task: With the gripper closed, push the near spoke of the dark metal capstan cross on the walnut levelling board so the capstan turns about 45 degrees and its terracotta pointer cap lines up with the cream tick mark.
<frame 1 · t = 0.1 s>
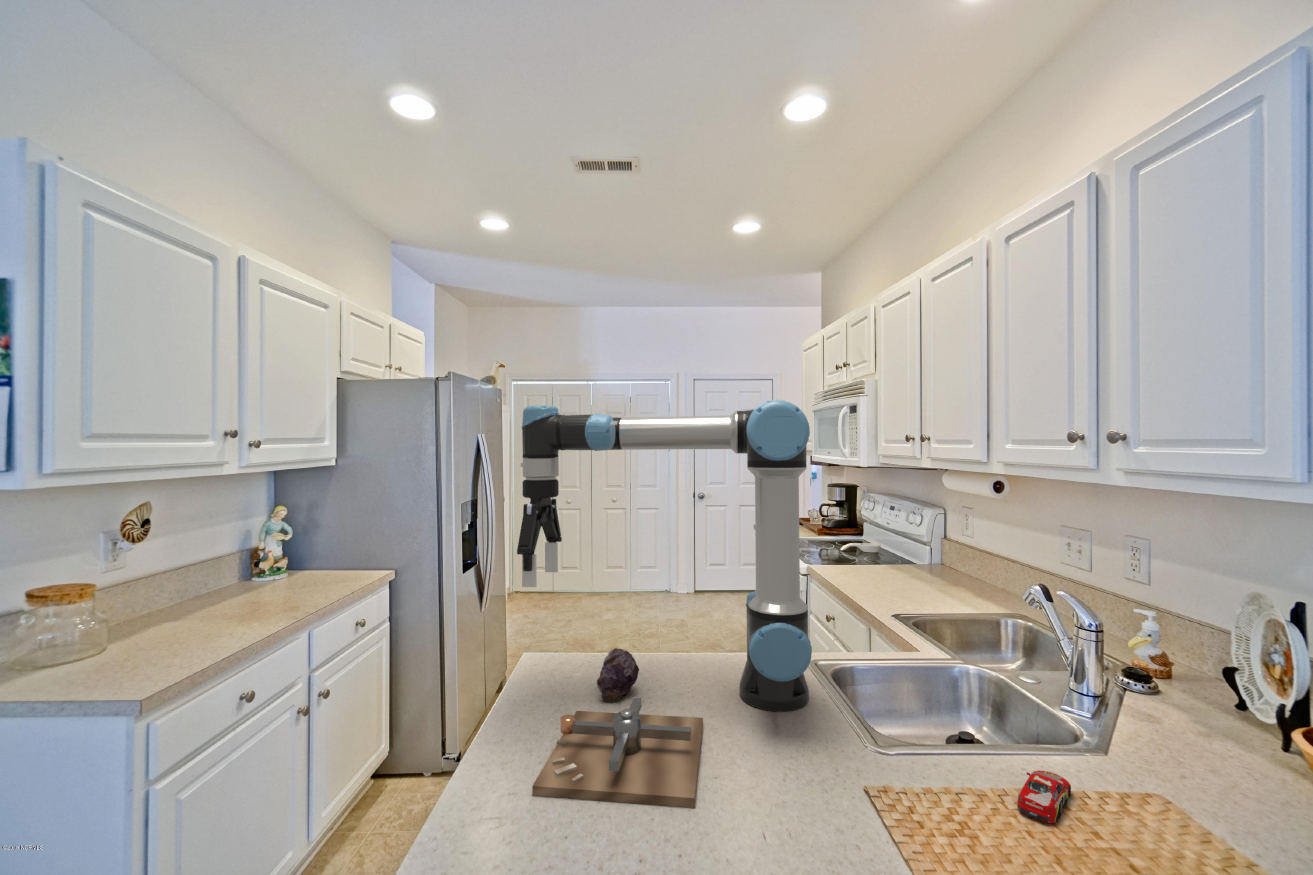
hand: (540, 579, 119), 28 cm above the countertop, fingers open, 13 cm apart
capstan: (624, 729, 102), point 5 cm above the countertop, hinge at 0.0°
rock: (617, 693, 128), on the countertop
race car: (1044, 804, 88), on the countertop
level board: (627, 756, 101), on the countertop
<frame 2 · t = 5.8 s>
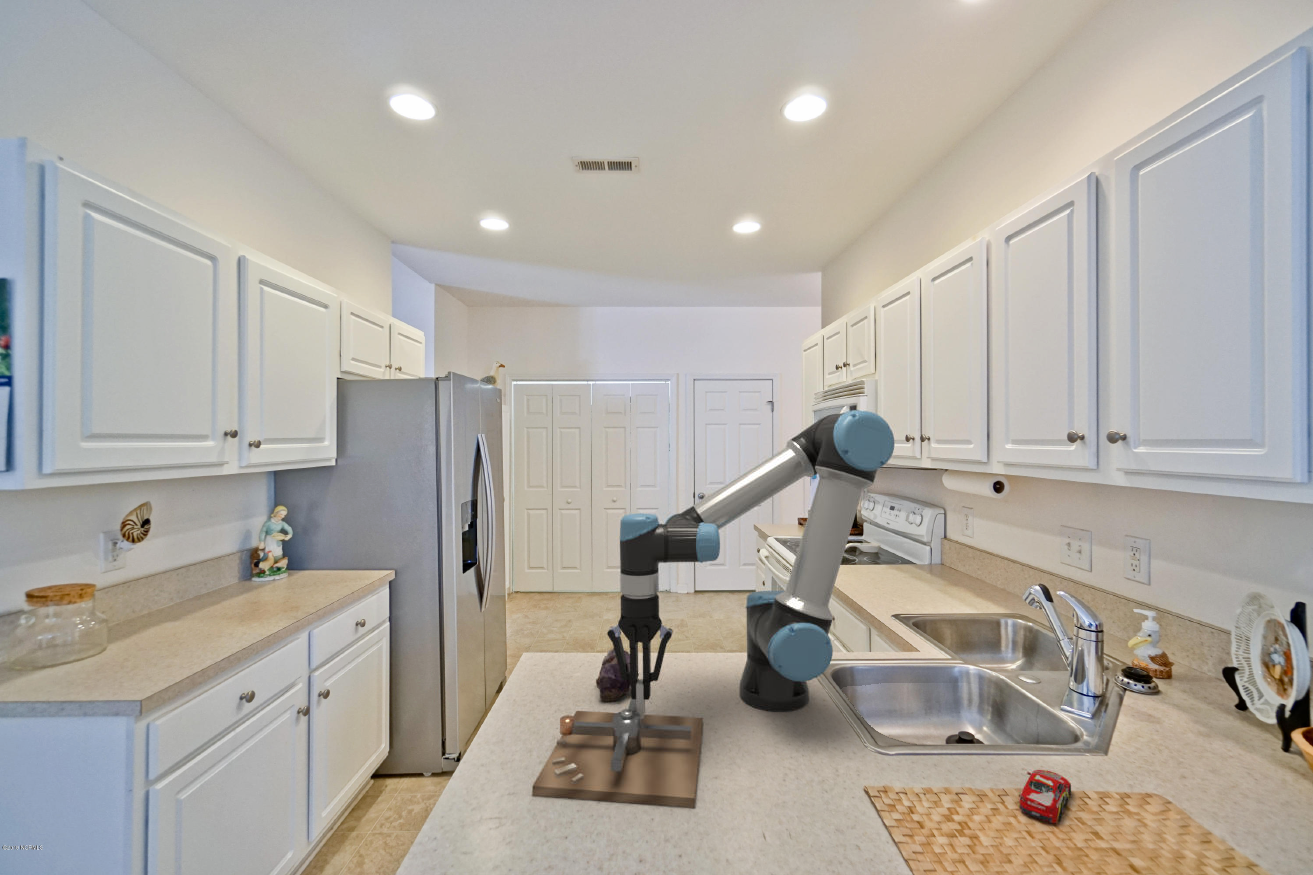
hand: (641, 715, 110), 3 cm above the countertop, fingers closed
capstan: (624, 729, 102), point 5 cm above the countertop, hinge at 1.8°, touching gripper
everything else where it was.
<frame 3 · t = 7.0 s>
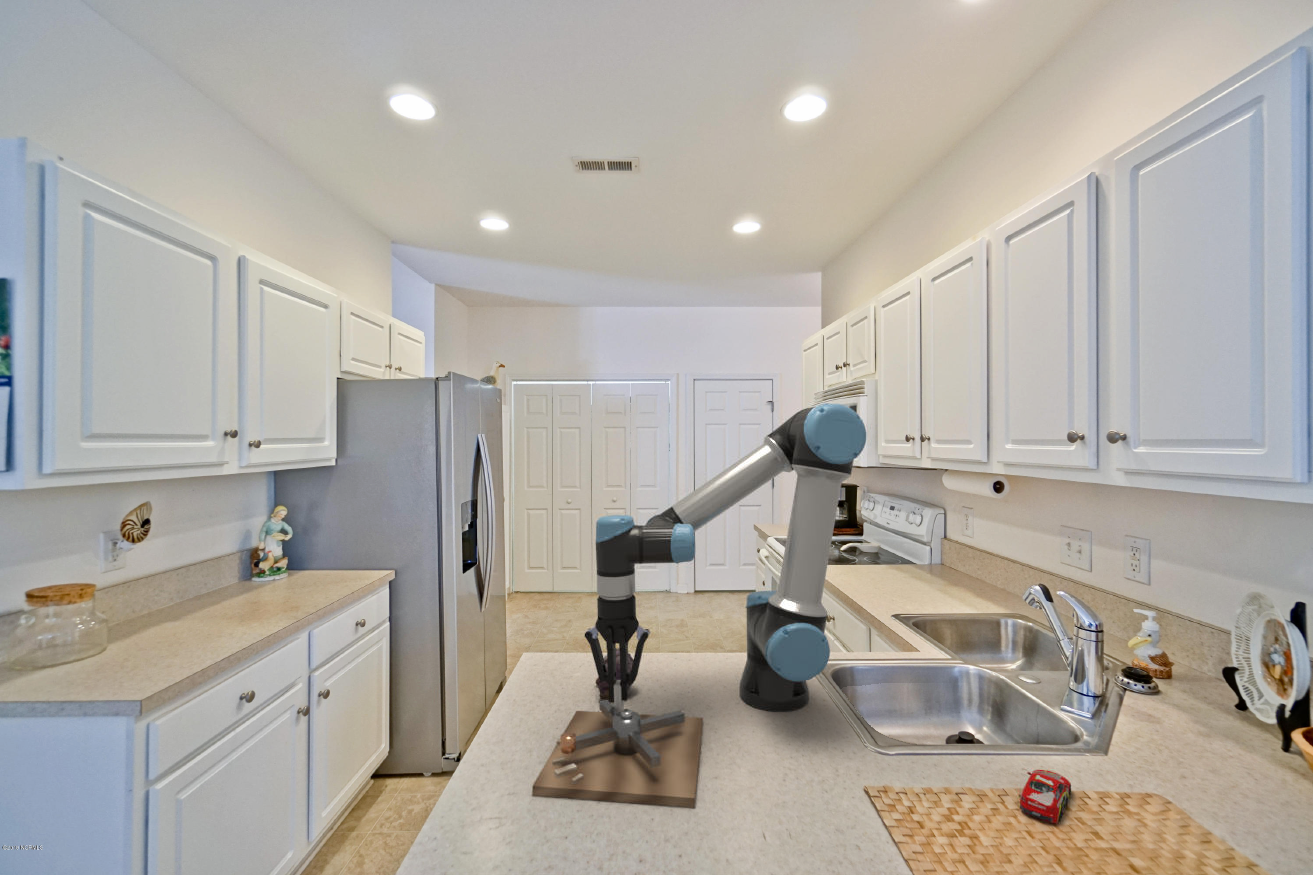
hand: (619, 716, 110), 3 cm above the countertop, fingers closed
capstan: (624, 730, 101), point 5 cm above the countertop, hinge at 34.7°, touching gripper
everything else where it was.
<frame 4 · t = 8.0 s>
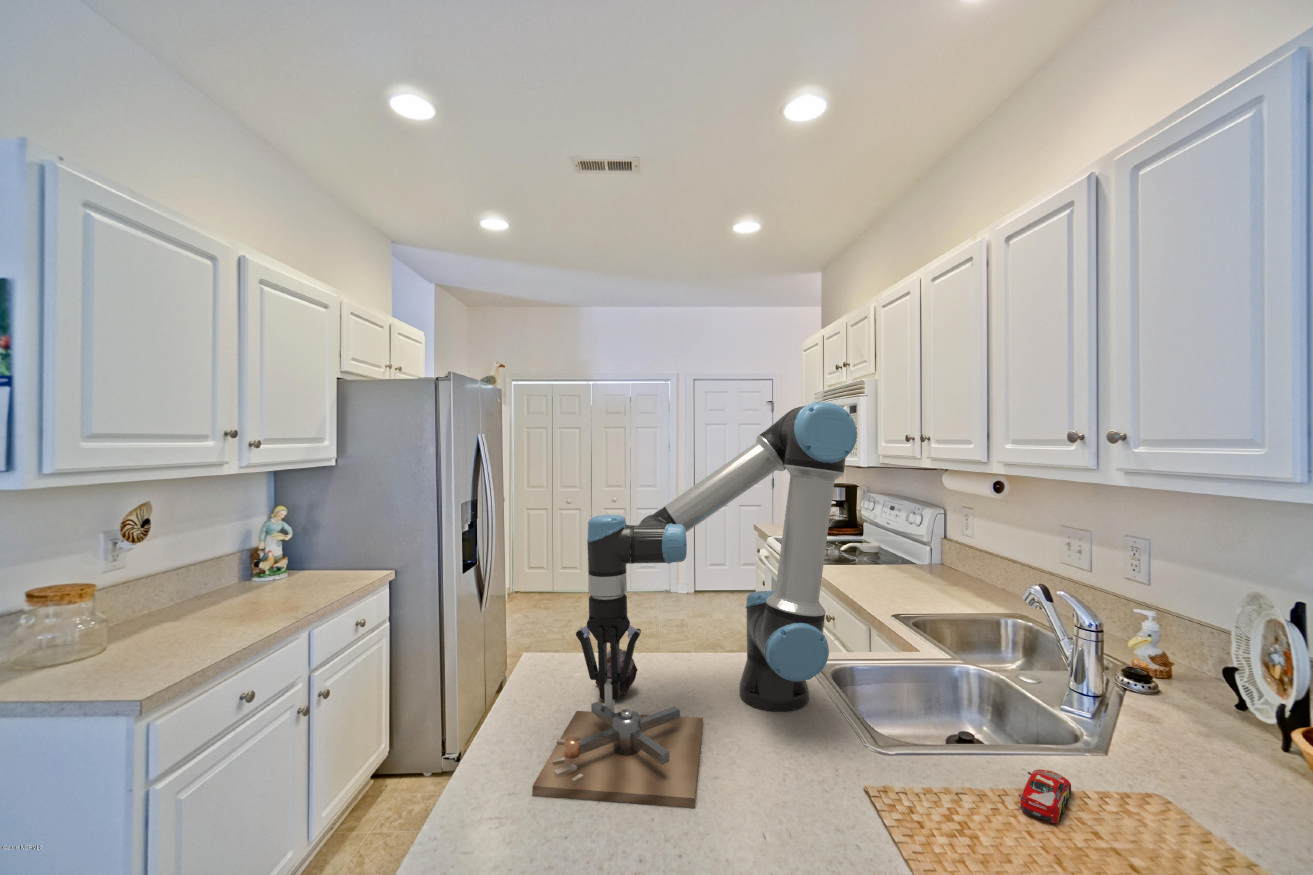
hand: (610, 714, 111), 3 cm above the countertop, fingers closed
capstan: (625, 730, 101), point 5 cm above the countertop, hinge at 43.8°, touching gripper
everything else where it was.
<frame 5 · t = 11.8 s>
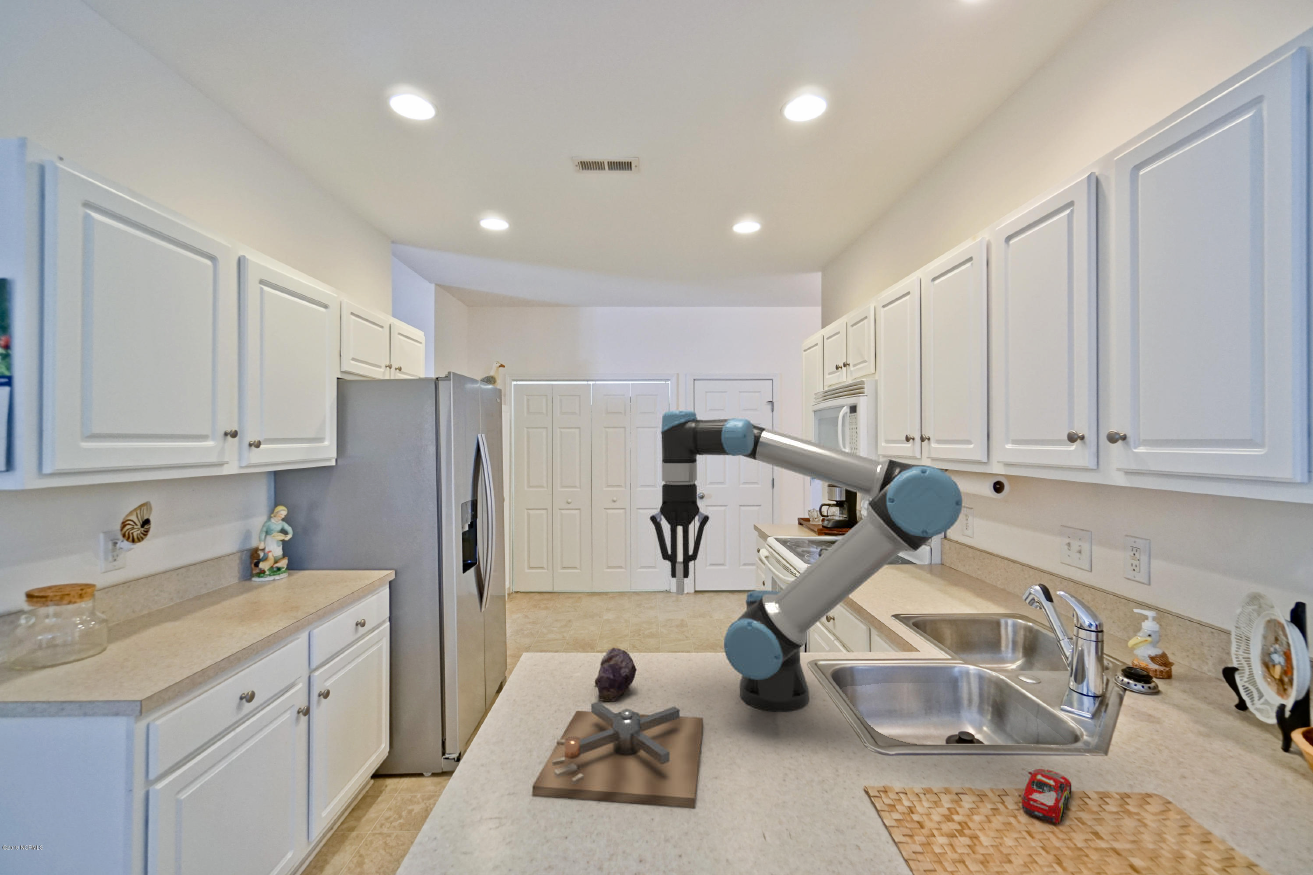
hand: (680, 592, 121), 24 cm above the countertop, fingers closed
capstan: (625, 730, 101), point 5 cm above the countertop, hinge at 43.8°
everything else where it was.
at the end: capstan at +44° (first picture: +0°) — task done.
